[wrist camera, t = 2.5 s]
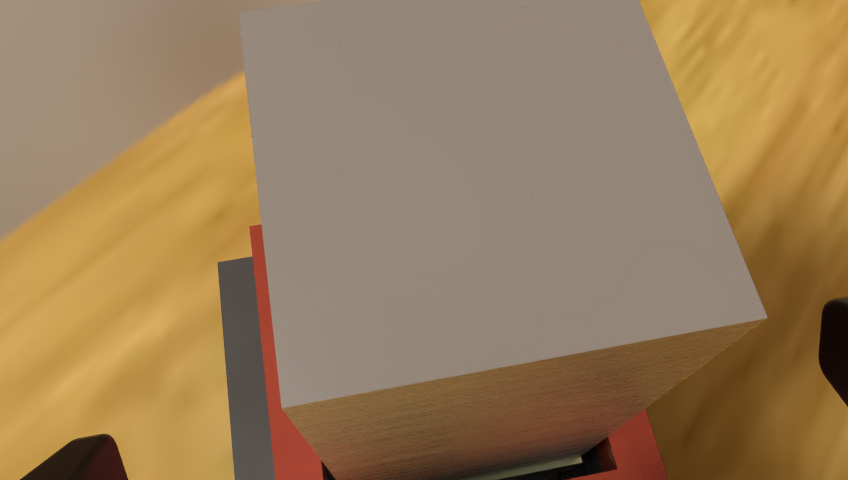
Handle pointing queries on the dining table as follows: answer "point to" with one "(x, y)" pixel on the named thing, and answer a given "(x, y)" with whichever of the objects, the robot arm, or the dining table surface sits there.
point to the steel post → (480, 231)
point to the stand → (283, 443)
